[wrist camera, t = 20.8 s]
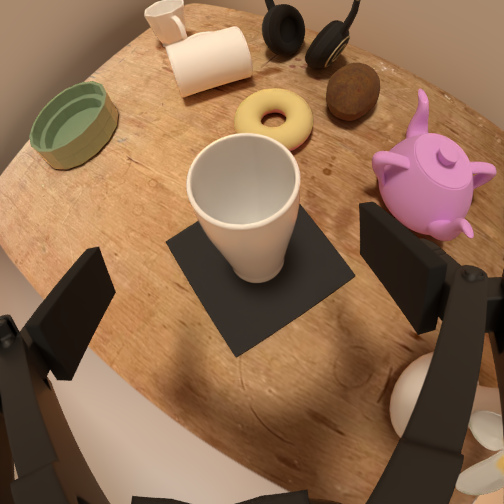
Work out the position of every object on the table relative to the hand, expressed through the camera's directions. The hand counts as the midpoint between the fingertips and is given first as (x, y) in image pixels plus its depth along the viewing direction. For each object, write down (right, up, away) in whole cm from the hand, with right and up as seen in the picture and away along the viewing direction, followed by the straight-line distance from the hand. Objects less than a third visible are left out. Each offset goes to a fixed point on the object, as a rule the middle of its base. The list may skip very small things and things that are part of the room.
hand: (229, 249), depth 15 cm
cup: (-12, +36, +31) cm, 49 cm away
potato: (+14, +19, +24) cm, 34 cm away
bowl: (-24, +17, +26) cm, 39 cm away
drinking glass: (+2, -1, +17) cm, 17 cm away
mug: (-5, +26, +28) cm, 38 cm away
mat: (+2, -1, +17) cm, 17 cm away
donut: (+4, +15, +23) cm, 28 cm away
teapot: (+21, +7, +19) cm, 29 cm away
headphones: (+9, +30, +28) cm, 41 cm away
